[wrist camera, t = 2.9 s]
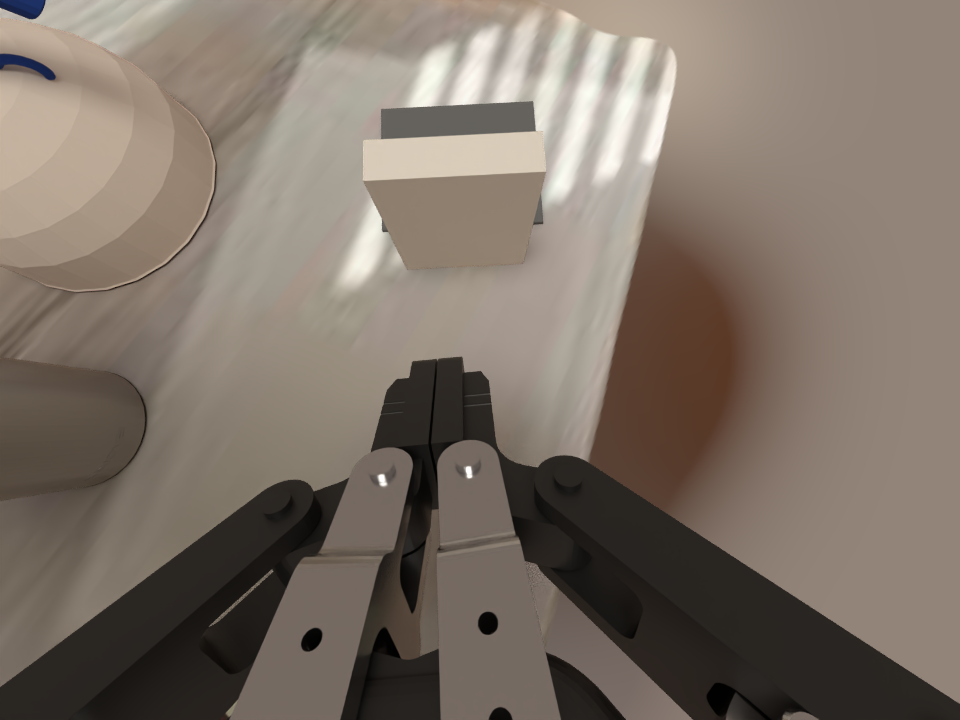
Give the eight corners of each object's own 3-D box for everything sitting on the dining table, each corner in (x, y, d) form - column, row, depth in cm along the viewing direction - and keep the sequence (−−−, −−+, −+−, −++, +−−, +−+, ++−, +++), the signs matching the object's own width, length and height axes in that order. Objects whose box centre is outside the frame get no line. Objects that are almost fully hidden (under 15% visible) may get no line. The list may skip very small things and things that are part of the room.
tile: (523, 263, 32) (546, 171, 20) (407, 269, 32) (363, 180, 20) (520, 234, 33) (542, 128, 21) (406, 240, 33) (363, 137, 21)
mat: (542, 223, 33) (543, 221, 33) (383, 231, 33) (382, 230, 33) (532, 104, 35) (533, 101, 34) (382, 111, 35) (381, 109, 34)
